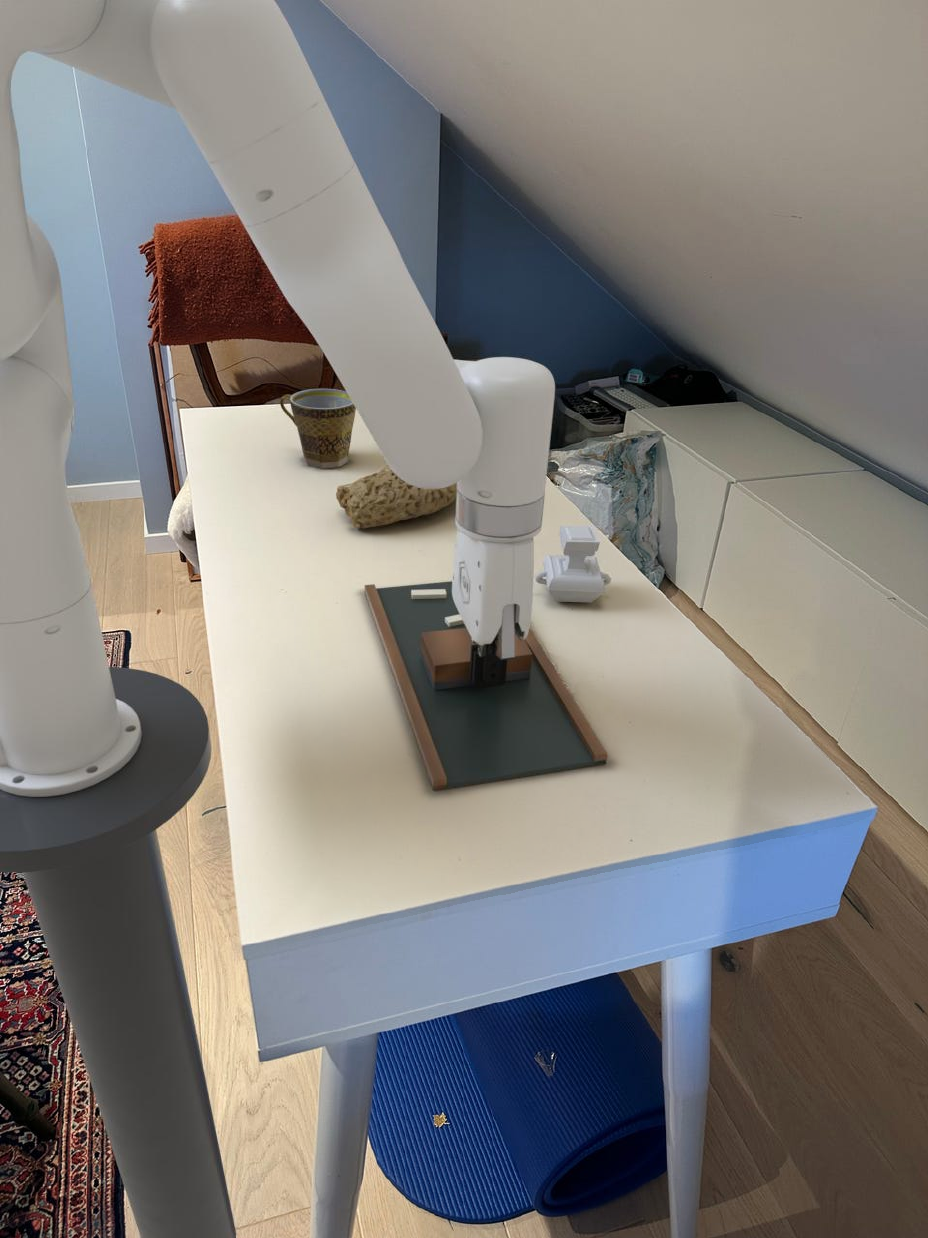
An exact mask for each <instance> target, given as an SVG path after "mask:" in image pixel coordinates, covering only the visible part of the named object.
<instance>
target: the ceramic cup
mask: <svg viewBox="0 0 928 1238" xmlns="http://www.w3.org/2000/svg"><path fill="white" fill-rule="evenodd" d="M285 399H286V400H288V401H289V404H290V409H291V412H290V411H288V409H287V408H286V406H285V403H284V401H285ZM279 406H280V408H281V410H282V411H283V412H284V414H285V415H286V416H287V417H288V418H289V419H290V420H291V421H292V422H293V424H294V426H295V427H296V428H297V429H296V430H297V434H298V436H299V440H300V446H301V451H302V454H303V459H304V461H305V463H306V464H307V466H309V467H313V468H317V469H321V470H324V469H335V468H341V467H342V466H343V465H345V464H348V461H349V455H350V448H351V441H352V434H353V433H352V432H353V426H354V424H355V417H356V411H357V409H356V407H355V406H354V404H353V402H352V400H351V399H350V397H349V395H348V393H347V392H346V390H341V389H335V388H313V389H312V388H309V389H304V390H301V391H300V390H299V391H298V392H295V393H293V394H284V395H282V396H281V398H280V400H279Z"/></svg>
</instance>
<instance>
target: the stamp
mask: <svg viewBox="0 0 928 1238" xmlns="http://www.w3.org/2000/svg"><path fill="white" fill-rule="evenodd" d="M558 535H559V536H558V537H559V540H560V544H561V548H562V553H563V555H560V554H559V555H558V554H548V555H546V556H545V558H544V560H543V562H542V564H543V571H539V572H538V573H537V574H536V575H535V576H534V581H536V582H537V583H538V584H540V585H544V586H546V587H547V591H548V593H549V594H550V595H551V597H552V599H553V600H554V602H563V603H564V602H566V603H567V602H570V603H593V602H594V601H595V600H596V599H598V598H600V597H602V595H603V594H605V593H606V586H608V585H610V583H611V581H612V578H611V577H610V574H608V573H606V572H602V571H601V569H600V565H599V562H598V561H599V560H598V558H597V557H596V556H595V555H596V552H598V551H599V547H600V543H601V542H600V539H599V537H598V535H597V532H596V530H595V528H594V525H559V533H558Z"/></svg>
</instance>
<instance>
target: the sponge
mask: <svg viewBox="0 0 928 1238" xmlns="http://www.w3.org/2000/svg"><path fill="white" fill-rule="evenodd" d="M456 488H457V483H455V484H453V485H451V486H448V487H445V488H440V489H424V488H418V487H416V486H413V485H410V484H408V483H407V482H405V481H403V480H402V479H400V478H399V477H398V476H397V475H396V474H395V473H394V472H393V471H392V470H391V469H390V467H389V466H388V465H387V466H385V467H383V468H382V469H380V470H379V472H375V473H372V474H368V475H365V476H363V477H361V478H359V479H357V480H355V481H354V482H352V483H345V484H341V485H338V486H337V487H336V493H335V497H336V500H337V502H338V504H339V506H340V508H342V509H344V512H345V514H346V515H347V516H348V517H349V518H350V523H351V524H352V526H353V528H354V529H367V528H374V527H379V526H380V527H381V526H387V525H391V524H393V523H397V522H399V521H407V520H410V519H414V518H419V517H420V516H427V515H430V514H434V513H437V512H438V511H440V510H441V509H443V508H445V507H448V506H449V505H451V504H452V503H453V502H454V501H456Z"/></svg>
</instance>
